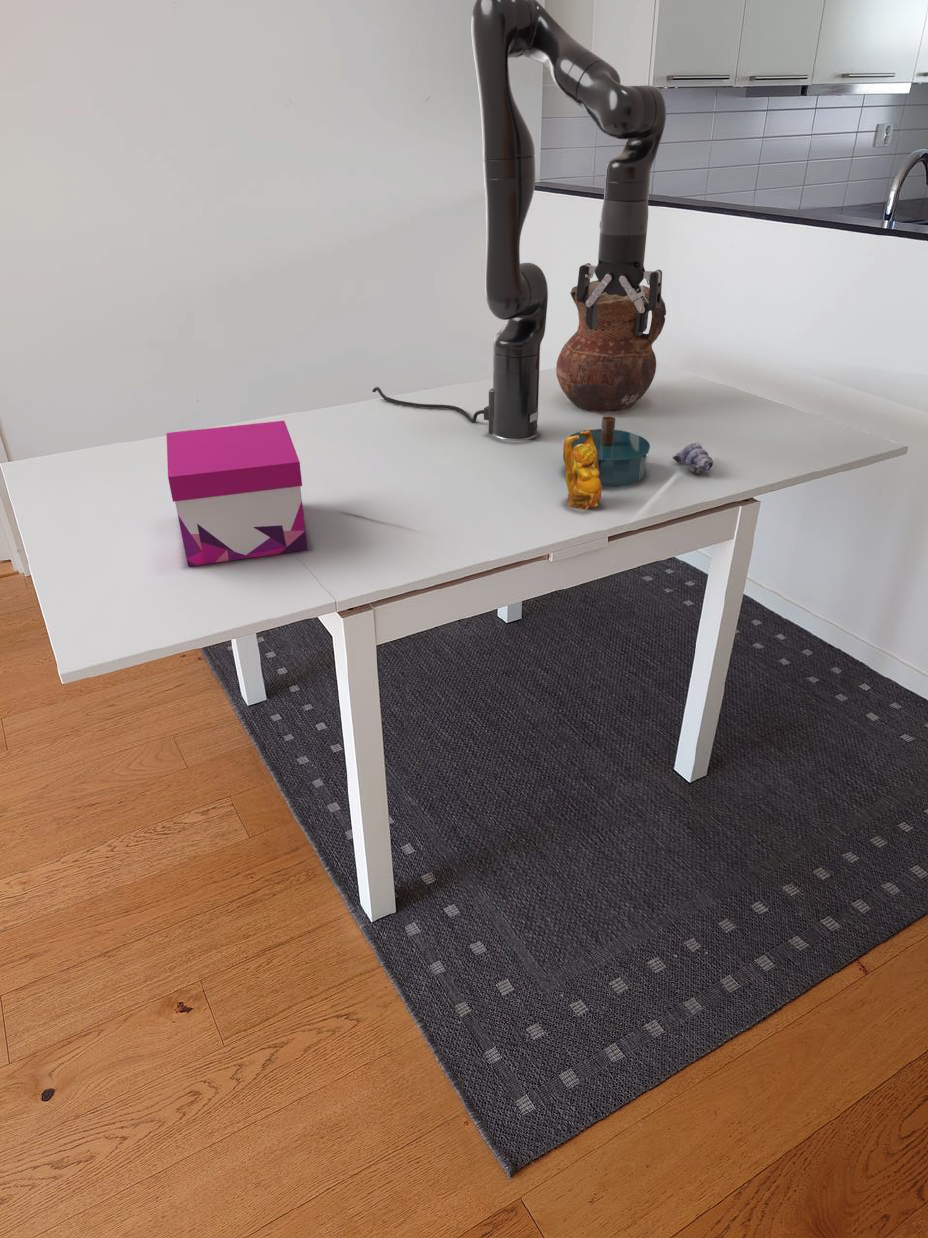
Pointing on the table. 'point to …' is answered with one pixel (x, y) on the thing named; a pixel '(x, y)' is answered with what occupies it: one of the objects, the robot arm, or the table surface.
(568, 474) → the figurine
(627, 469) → the pot
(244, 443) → the decorative box
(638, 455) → the lid
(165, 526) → the table surface
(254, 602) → the table surface
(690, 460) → the seashell
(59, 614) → the table surface
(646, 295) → the jug
